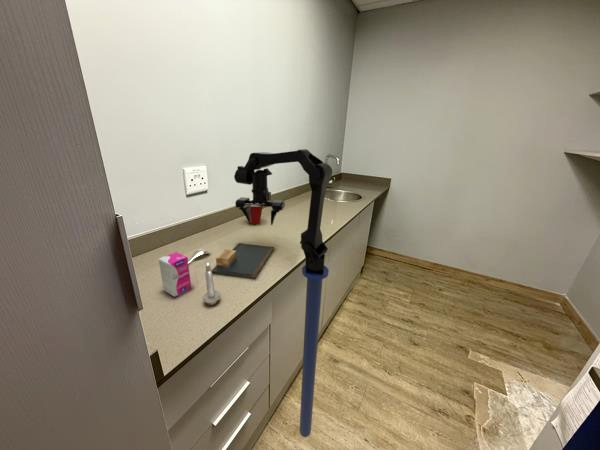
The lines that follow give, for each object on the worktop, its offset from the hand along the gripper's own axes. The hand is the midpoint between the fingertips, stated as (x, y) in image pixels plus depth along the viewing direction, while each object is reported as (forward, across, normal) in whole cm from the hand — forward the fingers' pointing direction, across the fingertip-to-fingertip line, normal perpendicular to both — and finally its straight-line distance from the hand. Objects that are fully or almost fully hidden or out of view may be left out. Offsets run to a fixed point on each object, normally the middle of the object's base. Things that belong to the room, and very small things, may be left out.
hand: (260, 224), depth 99 cm
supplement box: (+12, +17, +32) cm, 38 cm away
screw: (+12, +4, +36) cm, 38 cm away
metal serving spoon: (+12, +23, +17) cm, 31 cm away
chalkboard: (+12, +3, +10) cm, 16 cm away
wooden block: (+11, +8, +16) cm, 21 cm away
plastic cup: (+12, +13, -30) cm, 35 cm away
